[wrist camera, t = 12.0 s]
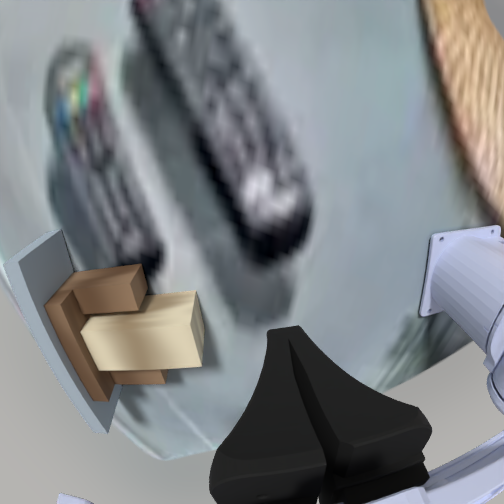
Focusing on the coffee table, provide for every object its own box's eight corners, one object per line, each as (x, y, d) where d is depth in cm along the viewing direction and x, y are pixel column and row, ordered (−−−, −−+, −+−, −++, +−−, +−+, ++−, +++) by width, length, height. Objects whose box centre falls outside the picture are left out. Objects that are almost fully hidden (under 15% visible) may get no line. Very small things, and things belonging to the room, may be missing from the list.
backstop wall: (61, 229, 19) (18, 261, 14) (122, 386, 26) (108, 433, 20) (46, 232, 19) (3, 264, 14) (109, 386, 26) (93, 432, 20)
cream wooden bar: (196, 289, 22) (190, 324, 18) (204, 328, 24) (201, 366, 20) (100, 299, 22) (80, 331, 18) (114, 335, 23) (98, 370, 19)
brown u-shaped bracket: (141, 263, 21) (120, 299, 16) (170, 359, 24) (162, 402, 20) (73, 272, 21) (43, 305, 16) (108, 361, 24) (93, 400, 19)
